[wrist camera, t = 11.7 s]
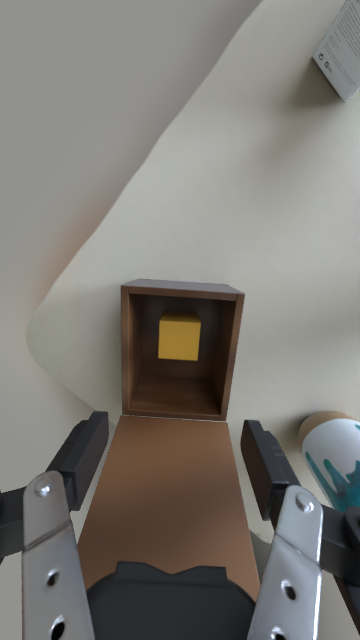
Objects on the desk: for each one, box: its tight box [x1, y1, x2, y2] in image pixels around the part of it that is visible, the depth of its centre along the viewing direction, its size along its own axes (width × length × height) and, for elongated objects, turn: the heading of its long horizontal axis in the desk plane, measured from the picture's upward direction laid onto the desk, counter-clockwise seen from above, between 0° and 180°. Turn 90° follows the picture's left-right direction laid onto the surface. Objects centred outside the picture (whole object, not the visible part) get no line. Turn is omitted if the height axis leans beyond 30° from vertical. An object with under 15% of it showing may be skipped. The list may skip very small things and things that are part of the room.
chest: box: [121, 279, 245, 421], centre depth 27 cm, size 16×13×9 cm
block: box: [158, 311, 201, 361], centre depth 28 cm, size 5×5×5 cm
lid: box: [77, 416, 260, 602], centre depth 17 cm, size 16×13×1 cm
